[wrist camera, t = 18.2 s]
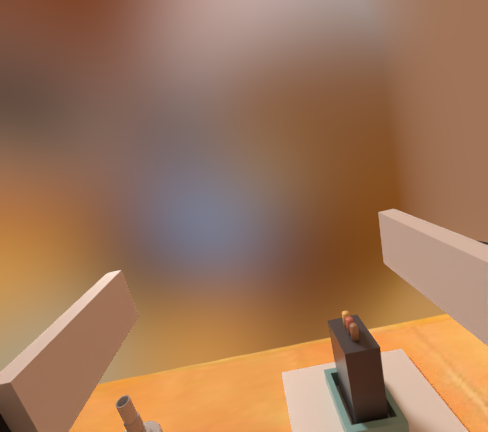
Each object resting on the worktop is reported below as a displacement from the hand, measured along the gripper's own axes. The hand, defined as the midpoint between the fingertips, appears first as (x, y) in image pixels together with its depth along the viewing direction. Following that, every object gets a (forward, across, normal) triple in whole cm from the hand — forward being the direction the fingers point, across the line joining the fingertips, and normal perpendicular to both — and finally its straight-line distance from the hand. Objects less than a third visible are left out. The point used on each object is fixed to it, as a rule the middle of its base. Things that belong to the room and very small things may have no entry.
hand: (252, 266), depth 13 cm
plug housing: (+16, +9, -31) cm, 36 cm away
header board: (+16, +9, -32) cm, 37 cm away
